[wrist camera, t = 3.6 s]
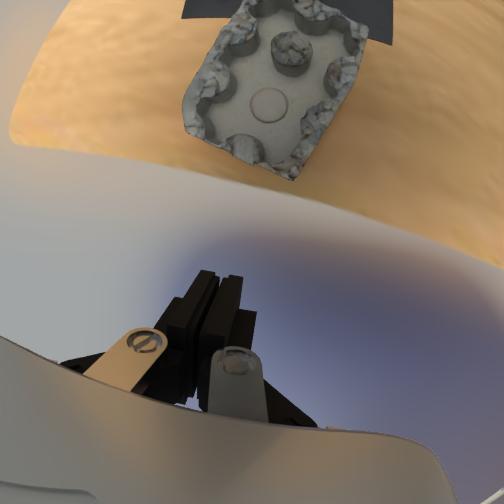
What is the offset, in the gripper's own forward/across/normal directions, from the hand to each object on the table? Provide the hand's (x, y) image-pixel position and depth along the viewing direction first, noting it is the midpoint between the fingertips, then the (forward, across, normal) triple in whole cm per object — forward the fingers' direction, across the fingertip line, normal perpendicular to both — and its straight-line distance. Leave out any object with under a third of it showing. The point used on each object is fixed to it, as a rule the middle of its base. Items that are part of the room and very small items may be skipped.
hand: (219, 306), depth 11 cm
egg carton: (+8, -1, -11) cm, 14 cm away
